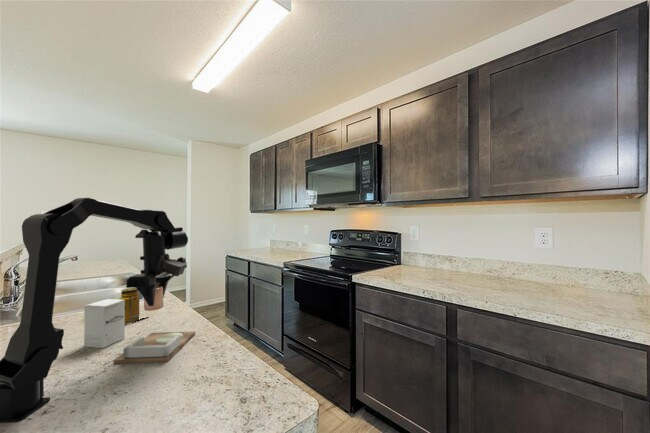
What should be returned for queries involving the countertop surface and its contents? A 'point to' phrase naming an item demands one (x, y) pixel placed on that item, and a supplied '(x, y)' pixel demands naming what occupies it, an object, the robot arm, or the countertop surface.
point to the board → (158, 339)
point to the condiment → (131, 305)
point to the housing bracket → (150, 348)
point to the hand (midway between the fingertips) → (156, 302)
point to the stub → (155, 300)
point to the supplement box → (104, 323)
